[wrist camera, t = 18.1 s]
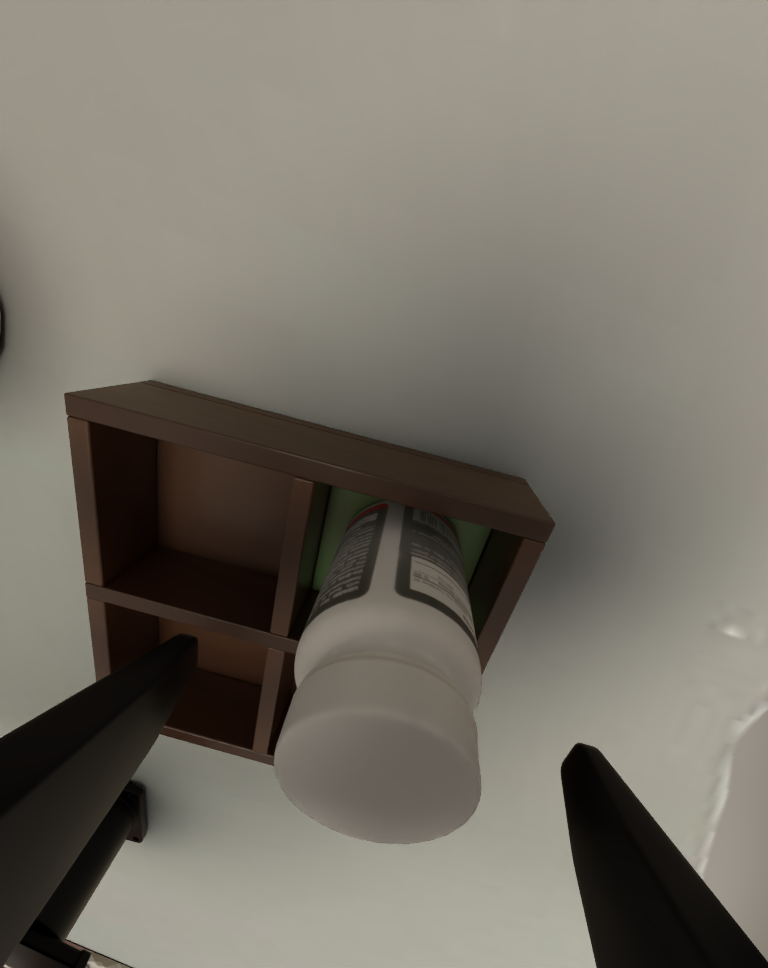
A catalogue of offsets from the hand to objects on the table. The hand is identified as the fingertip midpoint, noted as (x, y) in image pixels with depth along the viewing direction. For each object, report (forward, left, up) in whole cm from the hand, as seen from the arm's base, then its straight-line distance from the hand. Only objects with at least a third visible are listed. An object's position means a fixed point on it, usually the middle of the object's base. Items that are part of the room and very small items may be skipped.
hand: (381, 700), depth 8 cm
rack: (-4, +4, -8) cm, 9 cm away
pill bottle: (0, 0, -7) cm, 7 cm away
